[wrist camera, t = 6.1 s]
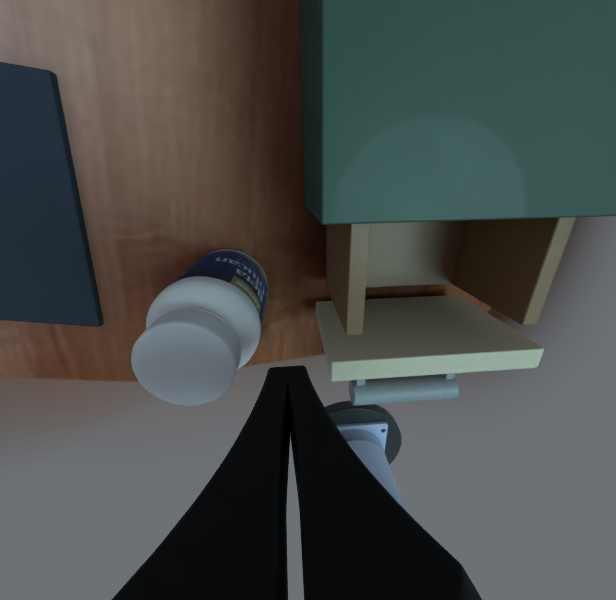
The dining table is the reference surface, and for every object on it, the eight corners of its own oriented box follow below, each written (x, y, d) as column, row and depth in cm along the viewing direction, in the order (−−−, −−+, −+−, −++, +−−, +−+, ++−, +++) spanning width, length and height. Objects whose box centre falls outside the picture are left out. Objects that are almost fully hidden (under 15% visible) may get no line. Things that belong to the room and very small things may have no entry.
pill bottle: (281, 268, 19) (277, 341, 10) (251, 327, 21) (225, 434, 12) (208, 232, 18) (130, 280, 9) (182, 299, 19) (94, 395, 10)
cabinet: (478, 201, 18) (640, 215, 10) (304, 206, 18) (321, 225, 9) (545, -96, 13) (1025, -617, 5) (297, -108, 12) (322, -758, 4)
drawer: (444, 357, 22) (512, 431, 16) (316, 366, 22) (329, 446, 15) (498, 116, 16) (660, 63, 9) (314, 117, 15) (337, 61, 8)
